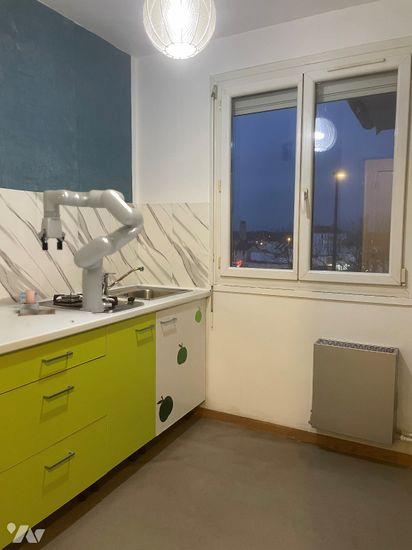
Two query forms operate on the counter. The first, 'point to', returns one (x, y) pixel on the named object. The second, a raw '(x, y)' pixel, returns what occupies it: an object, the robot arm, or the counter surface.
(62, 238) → the robot arm
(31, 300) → the peg
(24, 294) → the medicine box
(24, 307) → the socket board
